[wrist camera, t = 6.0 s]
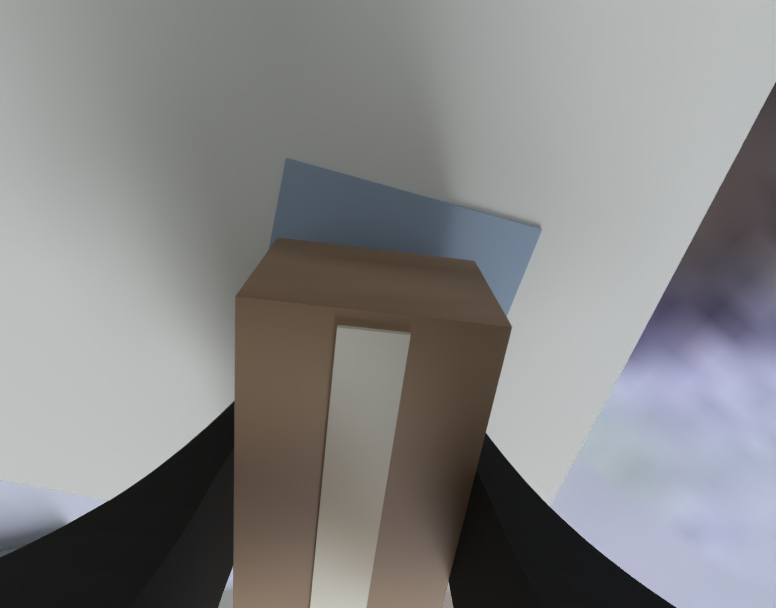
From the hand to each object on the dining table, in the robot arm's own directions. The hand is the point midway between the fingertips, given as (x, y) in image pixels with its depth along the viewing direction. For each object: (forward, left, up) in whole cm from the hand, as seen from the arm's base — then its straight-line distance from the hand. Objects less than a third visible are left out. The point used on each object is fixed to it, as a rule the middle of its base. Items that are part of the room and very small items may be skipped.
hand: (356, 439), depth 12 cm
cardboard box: (0, 0, -1) cm, 1 cm away
